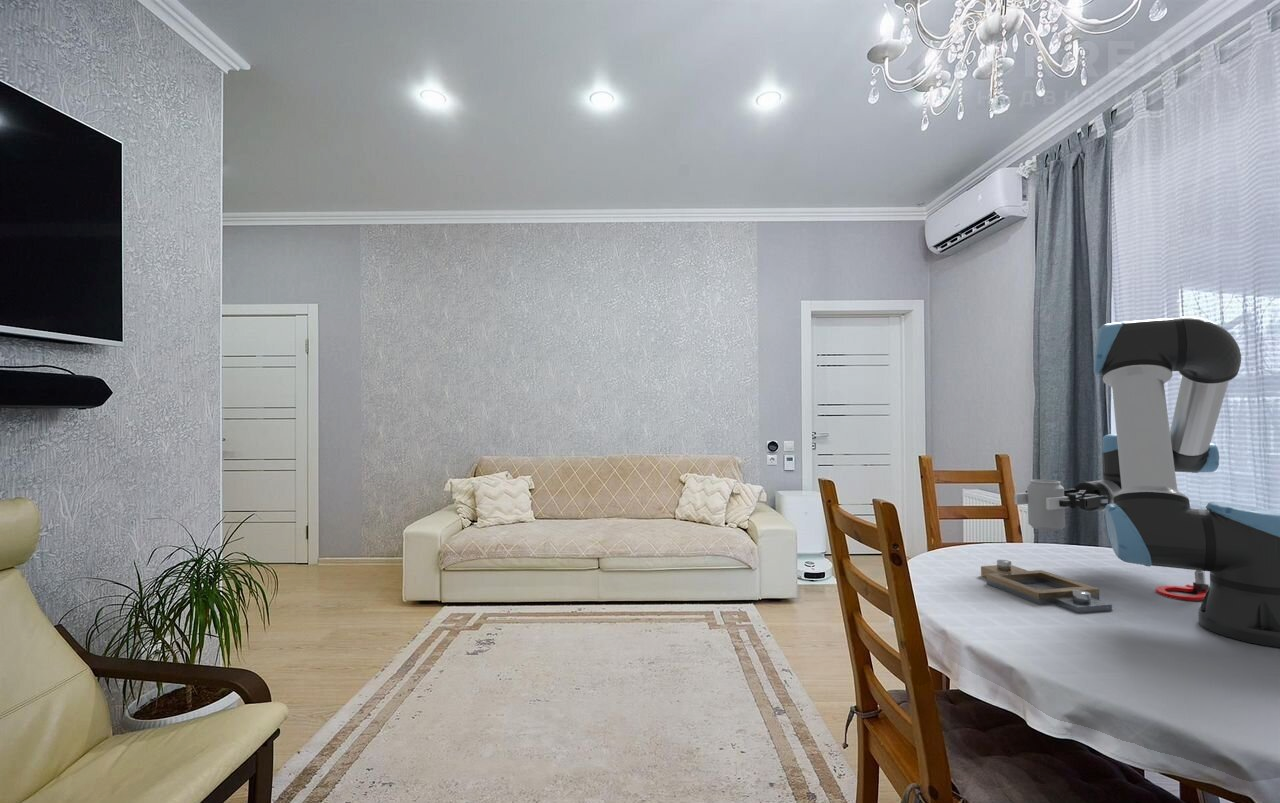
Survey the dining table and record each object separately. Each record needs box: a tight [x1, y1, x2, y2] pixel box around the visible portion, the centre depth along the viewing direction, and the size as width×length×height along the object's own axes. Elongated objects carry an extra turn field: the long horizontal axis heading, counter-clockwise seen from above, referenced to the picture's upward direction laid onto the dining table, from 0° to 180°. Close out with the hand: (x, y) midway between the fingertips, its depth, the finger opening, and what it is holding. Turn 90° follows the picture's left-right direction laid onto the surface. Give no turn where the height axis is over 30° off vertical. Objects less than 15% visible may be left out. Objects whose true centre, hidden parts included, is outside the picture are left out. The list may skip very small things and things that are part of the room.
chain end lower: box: [985, 578, 1113, 614], centre depth 129 cm, size 21×15×3 cm
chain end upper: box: [980, 559, 1100, 599], centre depth 135 cm, size 21×15×4 cm
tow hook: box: [1155, 570, 1210, 602], centre depth 128 cm, size 8×13×9 cm
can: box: [1026, 479, 1066, 532], centre depth 143 cm, size 8×8×12 cm
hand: (1031, 501), depth 142 cm, fingers closed on can, 7 cm apart
